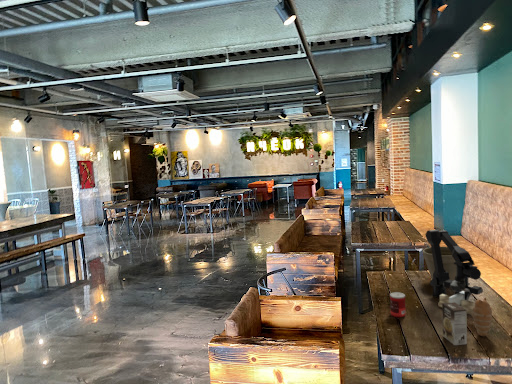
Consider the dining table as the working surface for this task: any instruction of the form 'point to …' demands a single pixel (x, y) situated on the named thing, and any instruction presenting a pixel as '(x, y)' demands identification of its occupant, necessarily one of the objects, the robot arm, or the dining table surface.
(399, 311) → the canned food
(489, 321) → the cat ice cream
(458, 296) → the slotted bar
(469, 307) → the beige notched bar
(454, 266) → the plant pot
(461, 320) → the coffee box
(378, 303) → the dining table surface
